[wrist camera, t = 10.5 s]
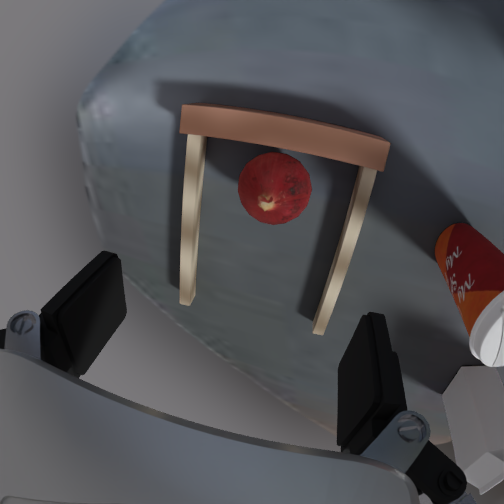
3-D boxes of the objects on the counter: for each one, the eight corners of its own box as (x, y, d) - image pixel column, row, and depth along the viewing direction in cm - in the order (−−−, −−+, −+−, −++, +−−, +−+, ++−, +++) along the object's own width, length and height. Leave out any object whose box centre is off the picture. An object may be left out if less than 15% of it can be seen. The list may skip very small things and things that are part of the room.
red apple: (304, 140, 26) (300, 156, 19) (316, 201, 28) (317, 237, 21) (241, 153, 28) (215, 173, 21) (256, 211, 30) (238, 249, 23)
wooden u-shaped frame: (198, 102, 26) (182, 104, 22) (379, 136, 25) (390, 143, 21) (185, 293, 36) (173, 314, 33) (322, 323, 35) (322, 347, 32)
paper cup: (415, 235, 28) (467, 328, 16) (474, 199, 25) (553, 272, 13) (437, 289, 30) (479, 385, 18) (491, 258, 27) (551, 341, 15)
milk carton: (441, 394, 39) (460, 500, 22) (461, 365, 35) (492, 478, 19) (473, 393, 38) (498, 489, 21) (494, 364, 34) (529, 466, 18)
